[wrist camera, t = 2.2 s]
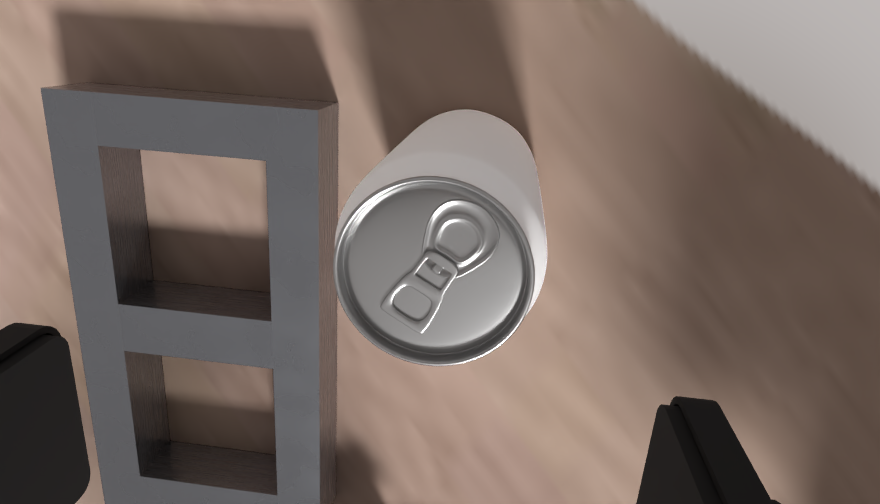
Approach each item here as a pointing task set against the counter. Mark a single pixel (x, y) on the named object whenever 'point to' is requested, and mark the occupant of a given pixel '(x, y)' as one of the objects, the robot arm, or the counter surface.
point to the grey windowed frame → (200, 289)
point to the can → (444, 241)
